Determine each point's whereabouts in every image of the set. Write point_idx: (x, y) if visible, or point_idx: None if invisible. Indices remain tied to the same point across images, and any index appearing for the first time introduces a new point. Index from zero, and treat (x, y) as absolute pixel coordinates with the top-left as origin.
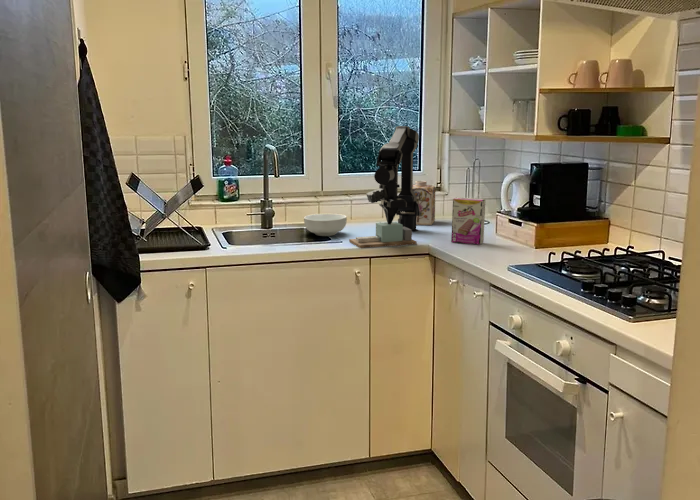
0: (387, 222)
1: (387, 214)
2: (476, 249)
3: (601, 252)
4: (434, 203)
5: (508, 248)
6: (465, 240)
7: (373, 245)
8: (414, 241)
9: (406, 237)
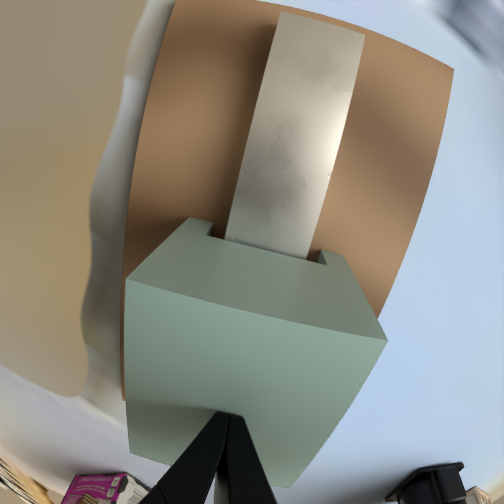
0: (238, 425)
1: (156, 502)
2: (20, 429)
3: (12, 483)
4: None
5: (33, 465)
6: (93, 481)
7: (149, 103)
8: None
9: None
